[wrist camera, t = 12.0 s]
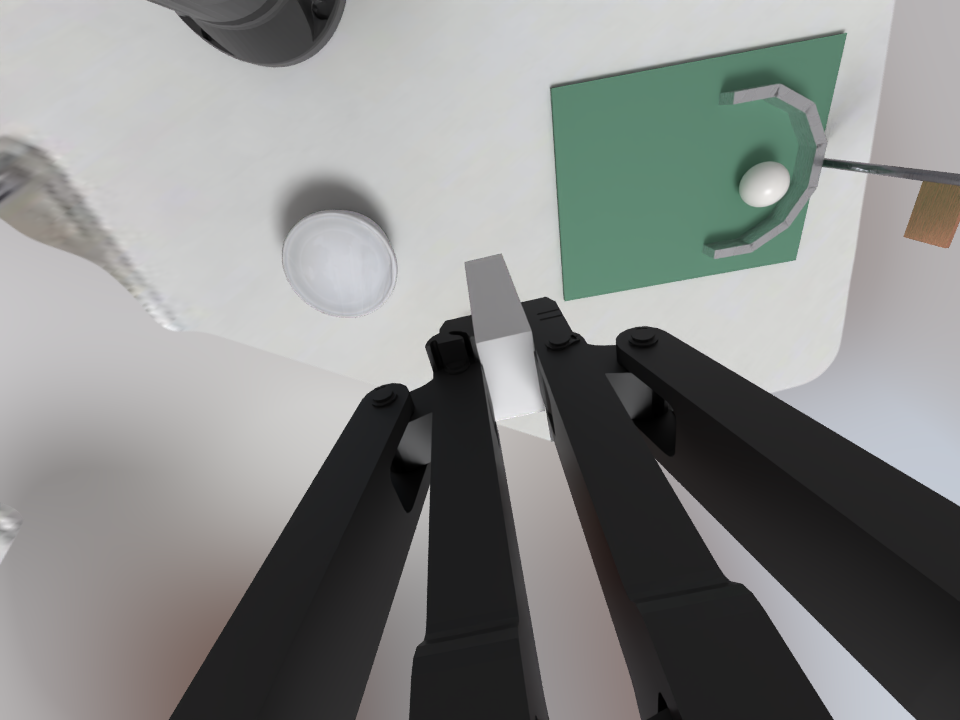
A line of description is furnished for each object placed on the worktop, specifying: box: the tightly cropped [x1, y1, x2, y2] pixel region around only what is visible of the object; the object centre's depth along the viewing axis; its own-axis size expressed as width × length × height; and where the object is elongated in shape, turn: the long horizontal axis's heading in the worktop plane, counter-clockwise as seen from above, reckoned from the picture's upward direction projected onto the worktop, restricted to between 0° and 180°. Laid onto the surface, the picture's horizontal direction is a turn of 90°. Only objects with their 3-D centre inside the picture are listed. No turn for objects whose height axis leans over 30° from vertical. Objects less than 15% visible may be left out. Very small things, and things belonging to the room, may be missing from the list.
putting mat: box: [551, 33, 847, 301], centre depth 46 cm, size 22×28×1 cm
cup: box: [702, 84, 960, 259], centre depth 38 cm, size 16×12×16 cm
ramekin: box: [282, 210, 398, 318], centre depth 45 cm, size 11×11×5 cm
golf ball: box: [739, 161, 790, 207], centre depth 44 cm, size 4×4×4 cm
